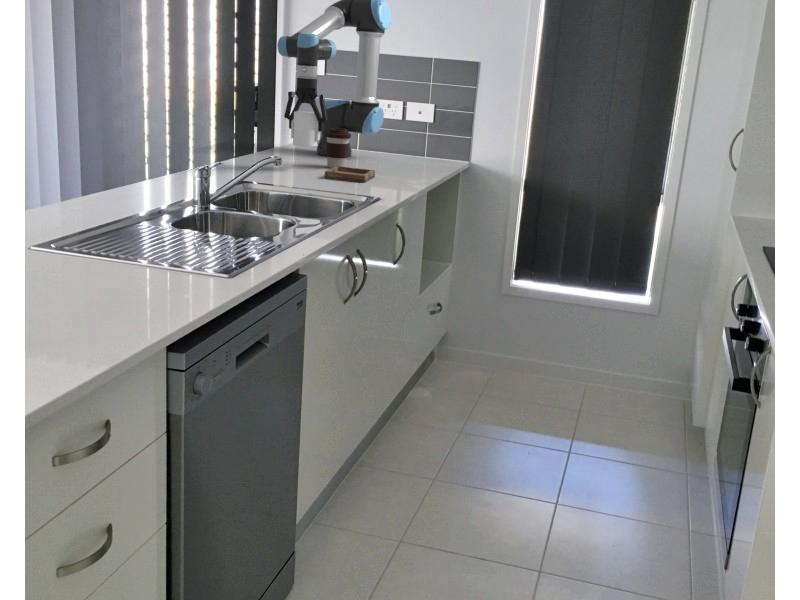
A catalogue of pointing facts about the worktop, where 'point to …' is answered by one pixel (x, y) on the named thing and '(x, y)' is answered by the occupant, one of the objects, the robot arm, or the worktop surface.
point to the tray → (350, 174)
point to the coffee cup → (337, 147)
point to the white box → (304, 129)
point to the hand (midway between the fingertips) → (305, 138)
